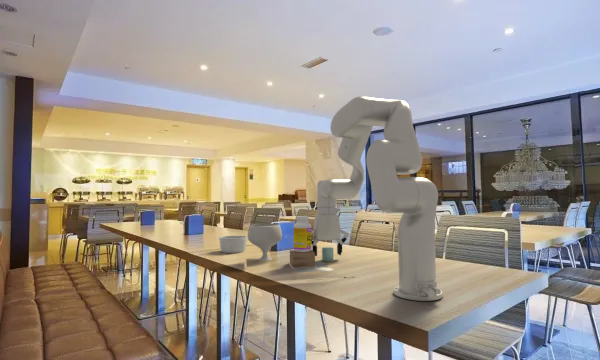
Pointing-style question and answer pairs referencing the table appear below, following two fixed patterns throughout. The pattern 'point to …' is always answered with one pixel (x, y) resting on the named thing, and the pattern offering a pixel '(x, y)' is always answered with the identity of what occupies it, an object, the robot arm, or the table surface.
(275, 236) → the chalice
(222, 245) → the ramekin
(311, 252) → the walnut plinth
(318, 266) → the build board
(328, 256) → the teal post
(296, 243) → the supplement bottle
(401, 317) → the table surface
